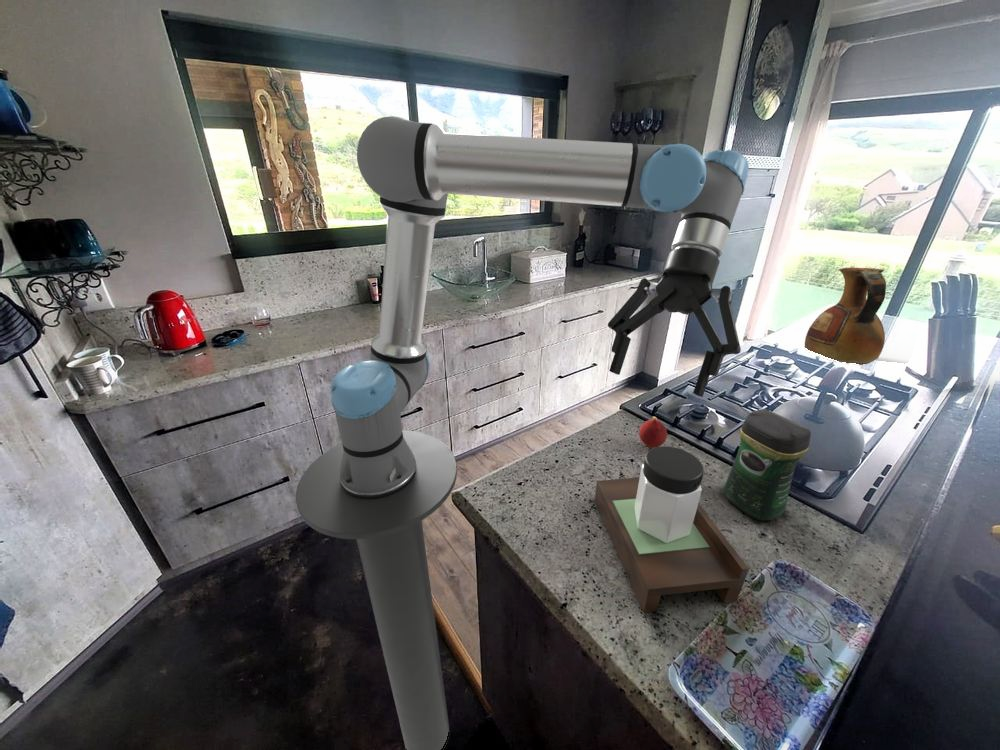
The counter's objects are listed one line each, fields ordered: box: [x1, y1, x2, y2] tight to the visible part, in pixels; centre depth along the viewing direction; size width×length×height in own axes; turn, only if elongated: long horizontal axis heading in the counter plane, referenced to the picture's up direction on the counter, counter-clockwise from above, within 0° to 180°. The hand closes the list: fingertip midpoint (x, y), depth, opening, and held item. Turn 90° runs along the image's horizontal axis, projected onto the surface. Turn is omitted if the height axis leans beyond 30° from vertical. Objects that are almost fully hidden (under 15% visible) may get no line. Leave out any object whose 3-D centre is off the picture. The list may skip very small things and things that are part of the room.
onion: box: [638, 416, 668, 449], centre depth 90 cm, size 6×6×8 cm
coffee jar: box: [722, 408, 812, 522], centre depth 71 cm, size 10×8×19 cm
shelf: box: [594, 476, 750, 613], centre depth 66 cm, size 22×14×7 cm, turn 6°
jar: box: [634, 445, 704, 543], centre depth 62 cm, size 9×8×12 cm
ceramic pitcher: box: [804, 266, 887, 366], centre depth 127 cm, size 20×20×30 cm
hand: (653, 383), depth 64 cm, fingers open, 13 cm apart
